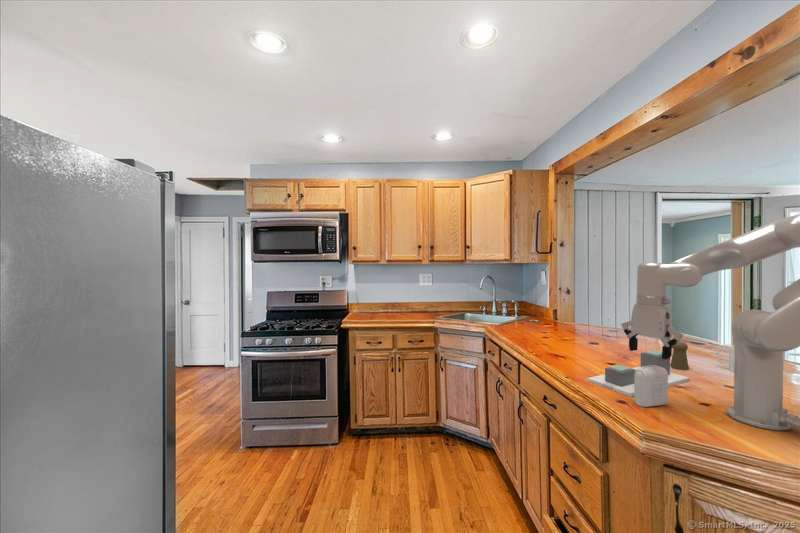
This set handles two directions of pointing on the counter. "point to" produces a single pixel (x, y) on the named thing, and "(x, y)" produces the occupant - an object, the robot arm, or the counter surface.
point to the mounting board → (630, 390)
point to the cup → (731, 356)
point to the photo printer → (651, 386)
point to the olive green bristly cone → (679, 356)
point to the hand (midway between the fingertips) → (649, 354)
